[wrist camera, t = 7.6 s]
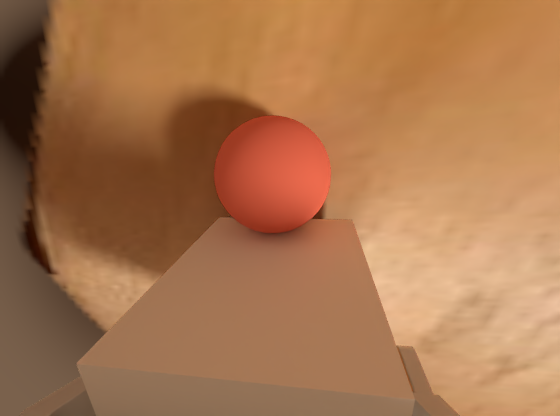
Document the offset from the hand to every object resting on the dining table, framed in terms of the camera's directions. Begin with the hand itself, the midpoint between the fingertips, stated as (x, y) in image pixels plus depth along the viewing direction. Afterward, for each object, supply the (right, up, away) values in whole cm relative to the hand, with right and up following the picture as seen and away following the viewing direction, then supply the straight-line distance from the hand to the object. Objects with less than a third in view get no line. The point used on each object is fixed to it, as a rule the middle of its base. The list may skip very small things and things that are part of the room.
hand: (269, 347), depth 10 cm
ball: (0, +7, +2) cm, 7 cm away
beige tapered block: (+1, +1, +5) cm, 5 cm away
